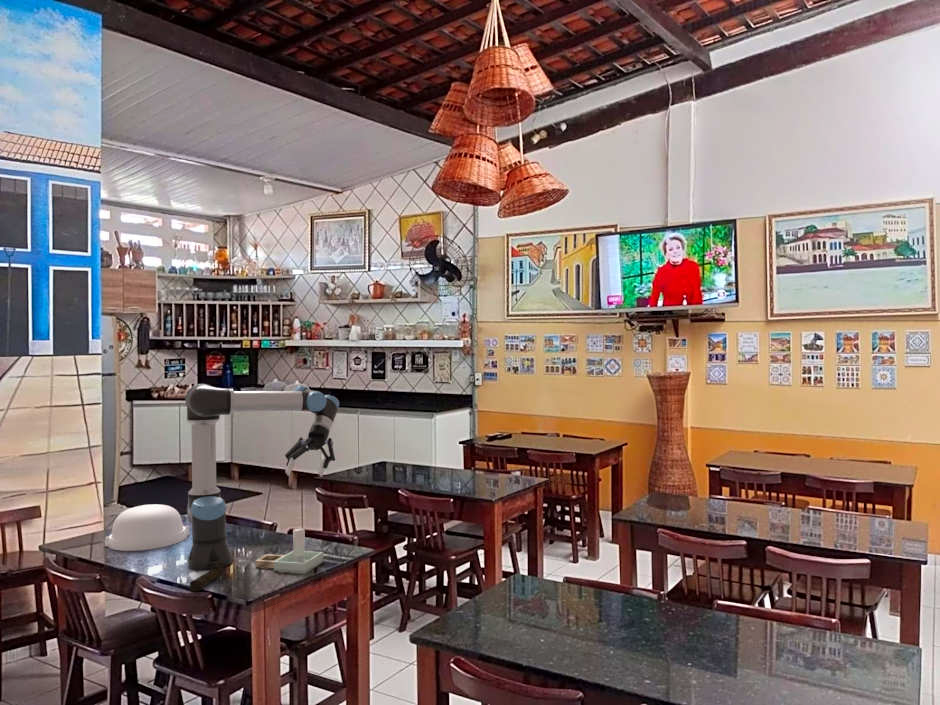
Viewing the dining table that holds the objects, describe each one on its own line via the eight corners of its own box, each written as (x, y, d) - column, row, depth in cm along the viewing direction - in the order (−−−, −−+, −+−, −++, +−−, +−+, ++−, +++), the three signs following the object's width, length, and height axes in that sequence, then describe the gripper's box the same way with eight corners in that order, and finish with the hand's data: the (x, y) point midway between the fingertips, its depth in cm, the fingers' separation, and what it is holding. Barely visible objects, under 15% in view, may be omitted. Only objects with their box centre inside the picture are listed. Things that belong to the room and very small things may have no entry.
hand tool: (200, 592, 241) (200, 578, 241) (189, 592, 241) (189, 577, 241) (229, 574, 259) (229, 561, 259) (219, 573, 260) (218, 560, 260)
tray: (273, 571, 260) (273, 561, 260) (293, 559, 273) (293, 550, 273) (305, 573, 257) (304, 563, 256) (323, 561, 270) (323, 552, 270)
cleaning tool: (291, 564, 264) (291, 530, 264) (296, 561, 267) (296, 528, 267) (301, 565, 262) (301, 531, 262) (306, 562, 266) (306, 528, 266)
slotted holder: (255, 567, 265) (255, 560, 265) (267, 561, 273) (267, 554, 273) (275, 569, 263) (275, 561, 263) (286, 562, 271) (286, 555, 270)
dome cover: (185, 527, 326) (184, 495, 326) (194, 543, 300) (193, 508, 300) (103, 538, 312) (102, 504, 311) (106, 556, 285) (104, 519, 285)
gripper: (352, 435, 295) (337, 480, 281) (295, 435, 302) (277, 479, 288) (346, 424, 290) (330, 469, 276) (288, 423, 297) (270, 467, 283)
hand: (303, 474), depth 282 cm, fingers open, 13 cm apart
